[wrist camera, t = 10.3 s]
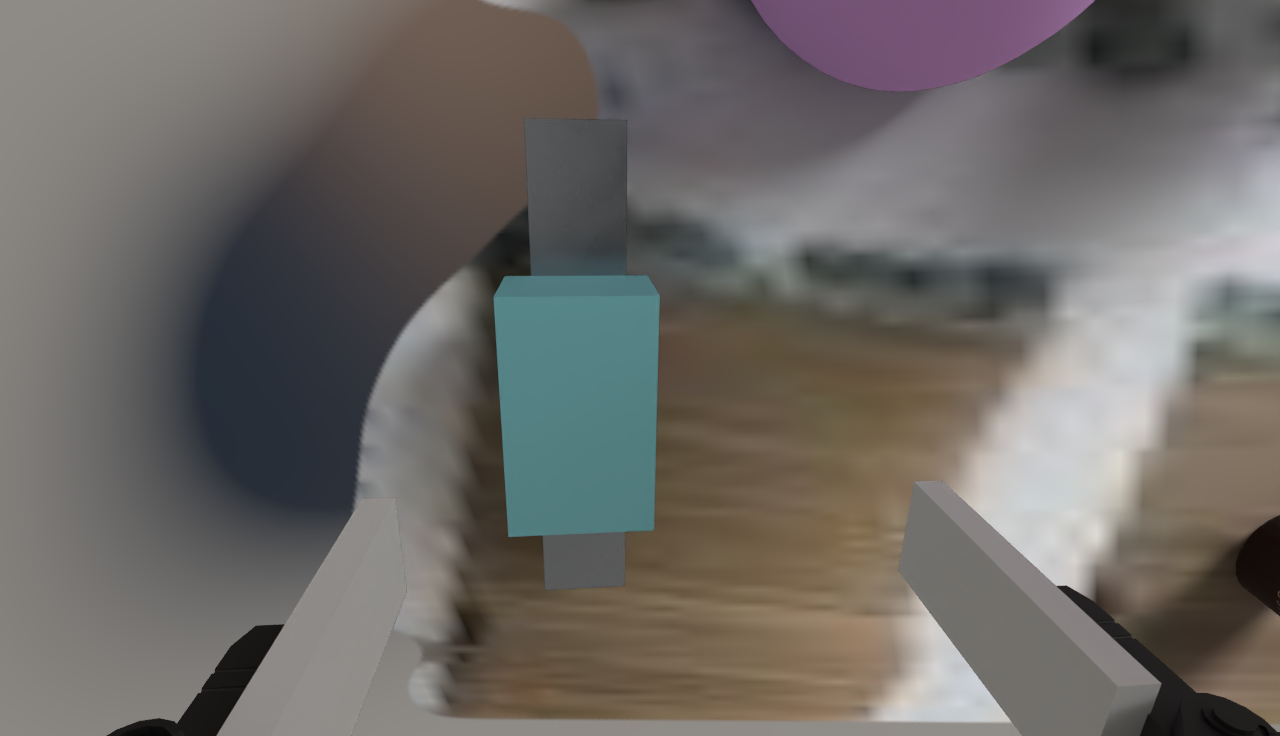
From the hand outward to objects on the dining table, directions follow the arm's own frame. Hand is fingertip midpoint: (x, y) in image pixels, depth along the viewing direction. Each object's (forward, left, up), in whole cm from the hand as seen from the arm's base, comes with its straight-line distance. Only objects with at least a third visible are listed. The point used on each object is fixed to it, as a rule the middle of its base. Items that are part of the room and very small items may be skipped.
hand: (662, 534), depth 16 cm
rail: (+1, -2, -17) cm, 17 cm away
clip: (+1, -2, -17) cm, 17 cm away
